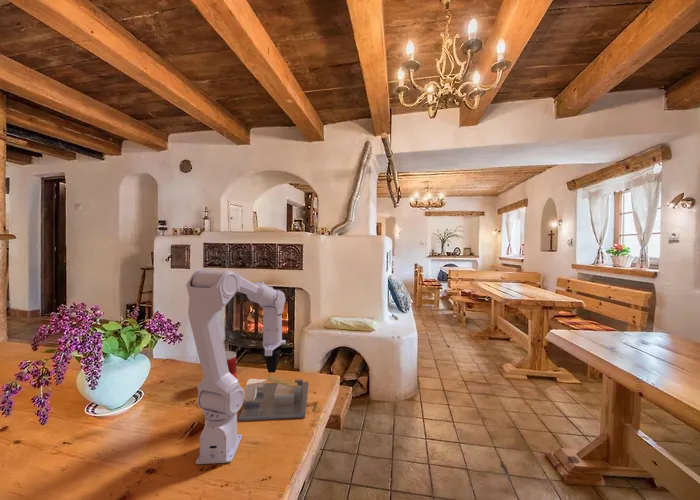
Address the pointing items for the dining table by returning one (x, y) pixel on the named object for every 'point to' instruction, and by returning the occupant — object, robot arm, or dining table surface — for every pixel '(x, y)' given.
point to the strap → (282, 381)
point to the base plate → (274, 409)
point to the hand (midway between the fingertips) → (272, 370)
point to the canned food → (231, 362)
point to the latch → (253, 388)
